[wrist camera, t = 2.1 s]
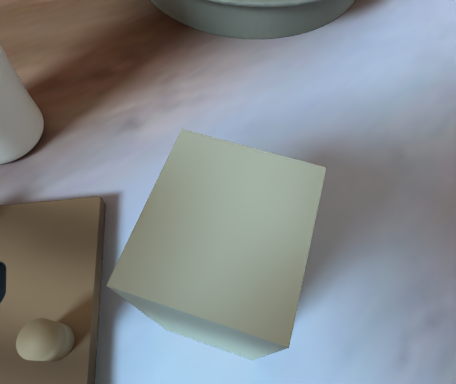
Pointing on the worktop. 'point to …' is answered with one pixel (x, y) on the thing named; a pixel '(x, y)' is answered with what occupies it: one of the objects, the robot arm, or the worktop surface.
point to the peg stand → (51, 290)
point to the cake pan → (254, 16)
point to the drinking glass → (16, 114)
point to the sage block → (223, 245)
